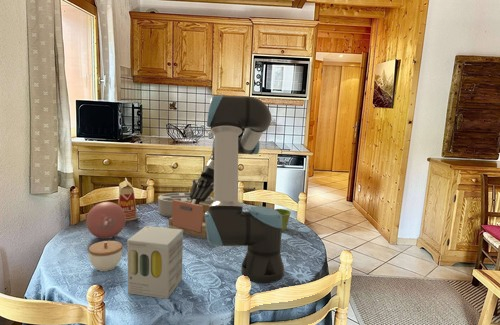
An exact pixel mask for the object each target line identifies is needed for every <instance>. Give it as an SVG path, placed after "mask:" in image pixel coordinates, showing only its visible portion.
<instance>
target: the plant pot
mask: <svg viewBox="0 0 500 325" xmlns="http://www.w3.org/2000/svg"><path fill="white" fill-rule="evenodd" d="M273 209H274V208H273ZM274 210H276V211H278V212H279V213H280V214H281V215H282V226H283V227H282V232H283V231H284V232H285V231H286V230H287V227H288V224H289V223H288V222H289V218H290V216H291V215H292V211H290V210H289V209H285V208H275V209H274Z"/></svg>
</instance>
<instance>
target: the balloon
mask: <svg viewBox="0 0 500 325" xmlns="http://www.w3.org/2000/svg"><path fill="white" fill-rule="evenodd" d="M85 220H86V228H87V229H88V231H89V233H91V234H92V235H93V236H94V237H95V238H99V239H103V240H104V239H105V240H107V239H113V238H115V237H116V236H118V235H119V234H120V233H121V232H122V231H123V229H124V228H125V226H126V222H127V221H126V216H125V213H124V211H123V209H122V208H121V207H120V206H119V205H118V203H116V202H111V201H103V202H99V203H97V204H95V205H94V206H93V207H92V208H91V209H90V210H89V211H88V213H87V216H86V219H85Z"/></svg>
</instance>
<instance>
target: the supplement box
mask: <svg viewBox="0 0 500 325" xmlns="http://www.w3.org/2000/svg"><path fill="white" fill-rule="evenodd" d="M183 245H184V233H183V230H181V229H171V228H169V227H163V226H162V227H160V226H151V225H146V226H144V227H143V228H141V229H140V230H138V231H137V232H136V233H134V234H133V235H132V236H131V237H130V238H128V239H127V294H131V295H138V296H146V297H152V298H160V299H166V300H167V299H169V298H170V297H171V295H172V293H173V292H174V291H175V290H176V288H177V287H178V285H179V284H180V283H181V281H182V280H183V252H184V250H183V248H184V246H183Z"/></svg>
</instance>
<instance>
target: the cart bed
mask: <svg viewBox="0 0 500 325" xmlns="http://www.w3.org/2000/svg"><path fill="white" fill-rule="evenodd" d="M190 202H191V201H188V203H190ZM199 205H202V206H203V224H202V230H201V233H200V232H196V231H193V230H189V229H185V228H181V227H177V226H173V225H172V217H169V218H168V228H171V229H181V230H183V234H186V235H189V236H193V237H197V238H201V239H206V238H207V231H206V222H205V212H207V211H209V206H210V205H209V204H204V203H199Z"/></svg>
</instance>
